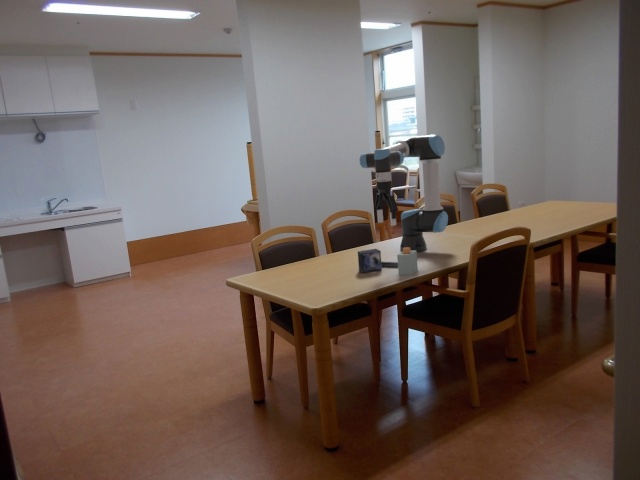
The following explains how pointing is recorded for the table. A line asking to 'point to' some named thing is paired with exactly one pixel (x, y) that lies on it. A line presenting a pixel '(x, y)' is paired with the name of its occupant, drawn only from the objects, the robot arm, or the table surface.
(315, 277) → the table surface
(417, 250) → the robot arm
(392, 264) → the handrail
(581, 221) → the table surface
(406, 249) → the button
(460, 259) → the table surface
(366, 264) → the small box
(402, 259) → the end cabinet
